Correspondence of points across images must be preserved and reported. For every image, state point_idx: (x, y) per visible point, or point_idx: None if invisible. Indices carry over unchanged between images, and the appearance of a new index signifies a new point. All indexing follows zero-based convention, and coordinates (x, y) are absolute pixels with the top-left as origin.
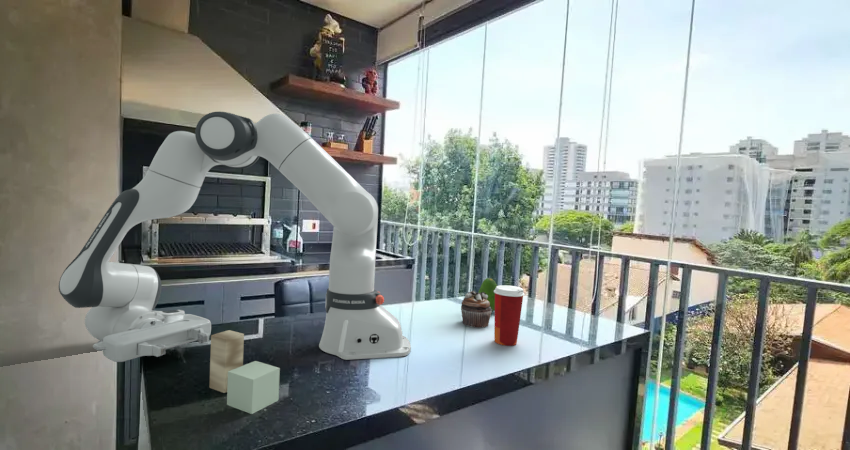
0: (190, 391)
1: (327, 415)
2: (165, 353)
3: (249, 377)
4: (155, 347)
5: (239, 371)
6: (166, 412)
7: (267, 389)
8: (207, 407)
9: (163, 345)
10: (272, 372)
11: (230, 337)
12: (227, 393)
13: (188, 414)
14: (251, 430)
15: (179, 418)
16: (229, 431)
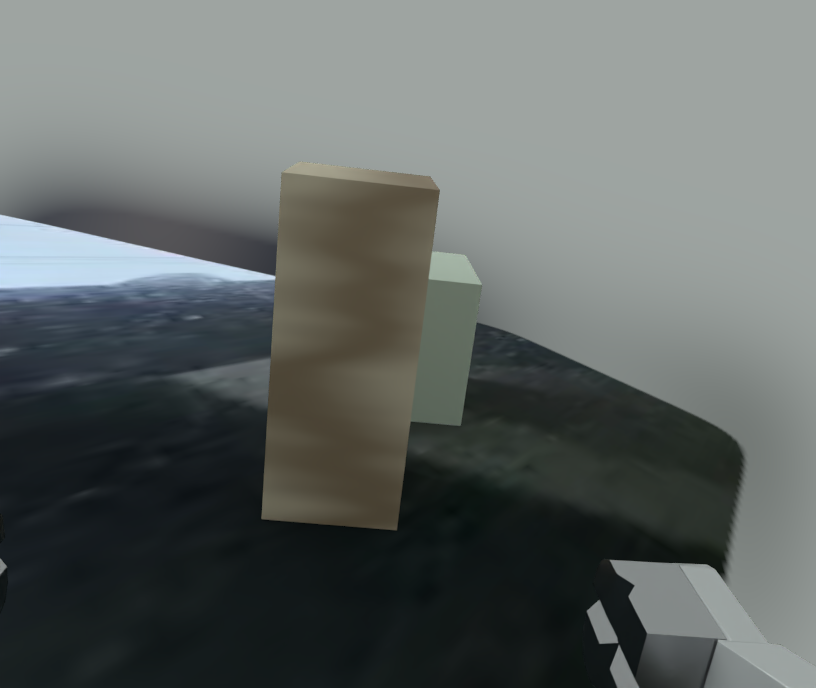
0: (497, 567)
1: None
2: (585, 633)
3: (461, 259)
4: (734, 596)
5: (451, 272)
6: (683, 516)
7: None
8: (526, 451)
9: (623, 570)
10: None
11: (392, 173)
12: (466, 379)
13: (610, 464)
14: (507, 355)
15: (650, 468)
16: (553, 375)
